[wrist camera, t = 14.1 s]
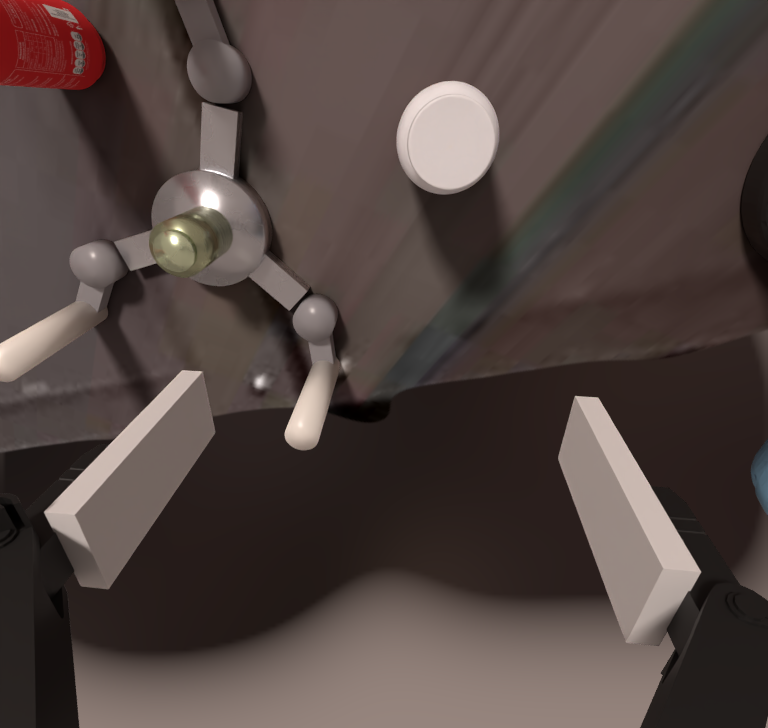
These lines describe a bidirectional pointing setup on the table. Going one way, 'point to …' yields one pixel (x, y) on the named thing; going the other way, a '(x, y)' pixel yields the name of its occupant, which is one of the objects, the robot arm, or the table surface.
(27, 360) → the knob
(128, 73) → the table surface
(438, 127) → the pill bottle
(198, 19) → the white lever handle
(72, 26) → the beverage can
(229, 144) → the levelling base
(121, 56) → the table surface
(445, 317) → the table surface
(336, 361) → the knob
